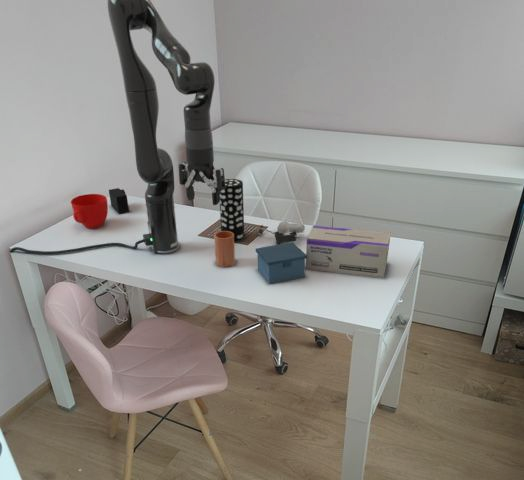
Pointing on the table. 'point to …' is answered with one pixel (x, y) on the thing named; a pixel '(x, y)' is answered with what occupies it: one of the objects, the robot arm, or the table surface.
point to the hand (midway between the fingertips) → (203, 202)
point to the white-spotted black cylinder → (232, 208)
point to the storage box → (281, 262)
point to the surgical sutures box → (347, 251)
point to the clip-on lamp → (285, 231)
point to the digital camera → (119, 200)
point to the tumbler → (224, 248)
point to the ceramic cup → (90, 210)
